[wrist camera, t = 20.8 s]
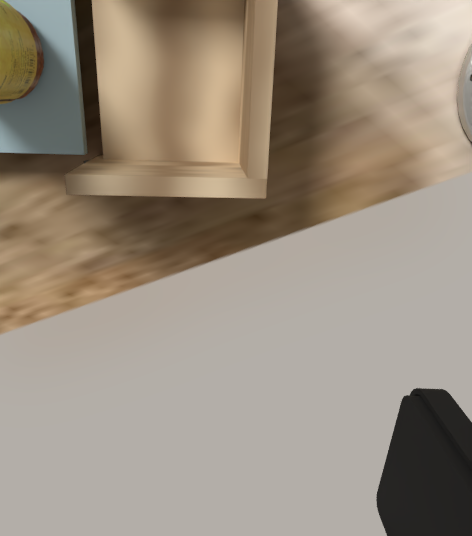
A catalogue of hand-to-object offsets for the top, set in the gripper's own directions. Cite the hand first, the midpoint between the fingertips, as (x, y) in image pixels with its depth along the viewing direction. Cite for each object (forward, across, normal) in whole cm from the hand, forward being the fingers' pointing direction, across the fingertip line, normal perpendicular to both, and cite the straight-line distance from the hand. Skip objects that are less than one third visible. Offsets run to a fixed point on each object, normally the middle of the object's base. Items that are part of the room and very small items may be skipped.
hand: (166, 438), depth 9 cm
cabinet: (+29, +3, -8) cm, 30 cm away
